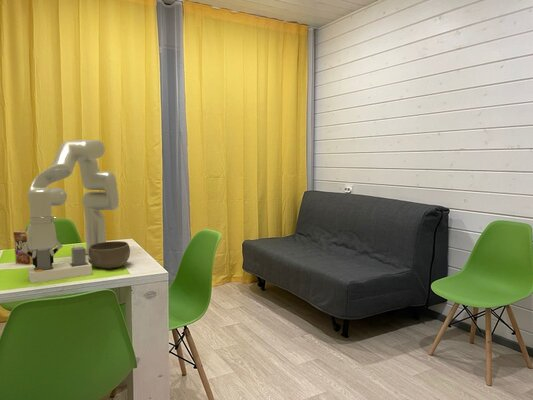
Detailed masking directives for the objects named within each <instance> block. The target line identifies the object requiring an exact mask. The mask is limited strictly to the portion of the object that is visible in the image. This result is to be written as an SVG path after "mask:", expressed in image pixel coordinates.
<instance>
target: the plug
mask: <svg viewBox="0 0 533 400" xmlns="http://www.w3.org/2000/svg"><path fill="white" fill-rule="evenodd" d="M36 257H37V270H41V269H42V270H43V271H44V270H51V266H50V250H49V249H38V250H37V252H36Z"/></svg>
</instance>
